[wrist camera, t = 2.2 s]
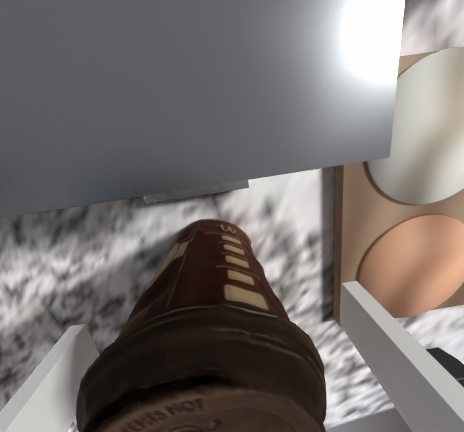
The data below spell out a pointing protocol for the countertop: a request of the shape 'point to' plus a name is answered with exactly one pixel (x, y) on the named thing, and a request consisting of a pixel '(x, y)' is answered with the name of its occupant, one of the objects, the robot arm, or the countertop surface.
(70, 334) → the robot arm
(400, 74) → the walnut board
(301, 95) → the miniature fireplace
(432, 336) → the countertop surface
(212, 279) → the coffee cup
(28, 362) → the countertop surface
